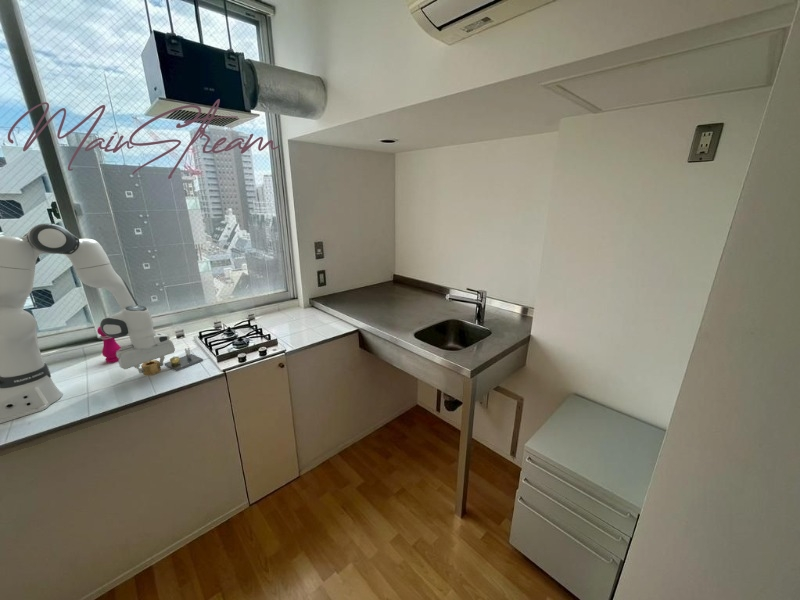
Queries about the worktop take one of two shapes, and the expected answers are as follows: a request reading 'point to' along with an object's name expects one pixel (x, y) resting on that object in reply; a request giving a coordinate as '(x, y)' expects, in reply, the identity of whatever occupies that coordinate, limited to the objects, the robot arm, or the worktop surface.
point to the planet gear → (151, 367)
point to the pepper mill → (109, 347)
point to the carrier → (183, 361)
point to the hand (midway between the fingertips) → (151, 369)
